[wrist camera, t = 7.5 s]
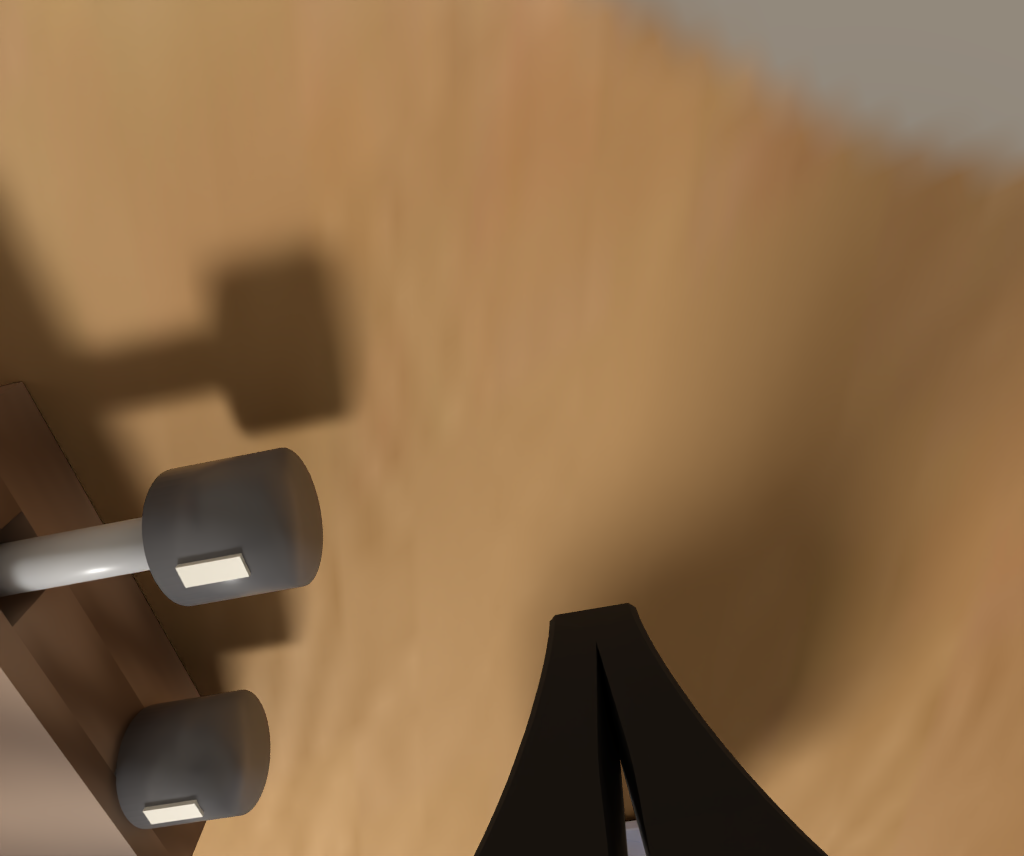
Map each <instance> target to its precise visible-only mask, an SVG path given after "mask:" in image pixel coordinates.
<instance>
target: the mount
mask: <svg viewBox="0 0 1024 856" xmlns="http://www.w3.org/2000/svg"><path fill="white" fill-rule="evenodd" d="M98 525H103V523H102V522H101V520H100V518H99V516H98V515H97V513H96V511H95V509H94V507H93V506H92V504H91V502H90V500H89V499H88V497H87V495H86V493H85V492H84V490H83V488H82V486H81V484H80V483H79V481H78V479H77V477H76V476H75V474H74V472H73V470H72V469H71V467H70V465H69V463H68V462H67V460H66V458H65V456H64V454H63V453H62V451H61V449H60V447H59V446H58V444H57V442H56V440H55V439H54V437H53V435H52V433H51V431H50V430H49V428H48V426H47V424H46V423H45V421H44V419H43V417H42V416H41V414H40V412H39V410H38V408H37V407H36V405H35V403H34V401H33V400H32V398H31V396H30V394H29V393H28V391H27V389H26V387H25V386H24V384H23V382H18V383H14V384H9V385H4V386H0V544H2V543H7V542H13V541H18V540H23V539H29V538H34V537H39V536H45V535H50V534H55V533H61V532H66V531H71V530H77V529H82V528H87V527H93V526H98ZM196 697H200V695H199V693H198V691H197V689H196V688H195V686H194V684H193V682H192V681H191V679H190V677H189V675H188V674H187V672H186V670H185V668H184V667H183V665H182V663H181V661H180V659H179V658H178V656H177V654H176V652H175V651H174V649H173V647H172V645H171V644H170V642H169V640H168V638H167V636H166V635H165V633H164V631H163V629H162V628H161V626H160V624H159V622H158V621H157V619H156V617H155V615H154V613H153V612H152V610H151V608H150V606H149V605H148V603H147V601H146V599H145V598H144V596H143V594H142V592H141V591H140V589H139V587H138V585H137V583H136V582H135V580H134V578H133V576H132V575H131V573H130V574H125V575H119V576H114V577H108V578H103V579H97V580H92V581H86V582H81V583H75V584H70V585H64V586H59V587H53V588H47V589H42V590H36V591H31V592H25V593H20V594H14V595H9V596H3V597H0V856H192V855H193V852H194V850H195V847H196V845H197V842H198V840H199V837H200V835H201V833H202V830H203V828H204V825H205V823H206V821H199V822H193V823H186V824H179V825H172V826H166V827H159V828H152V829H141V828H138V827H136V826H134V825H133V824H131V823H130V822H129V820H128V819H127V818H126V816H125V815H124V813H123V811H122V809H121V806H120V803H119V800H118V795H117V788H116V776H115V775H114V772H115V770H116V765H117V758H118V753H119V749H120V745H121V742H122V739H123V737H124V734H125V732H126V730H127V728H128V726H129V725H130V723H131V721H132V720H133V719H134V717H135V716H136V715H137V714H138V713H139V712H140V711H141V710H143V709H144V708H146V707H147V706H150V705H153V704H159V703H165V702H171V701H177V700H183V699H189V698H196Z"/></svg>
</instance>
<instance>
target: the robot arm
mask: <svg viewBox="0 0 1024 856" xmlns="http://www.w3.org/2000/svg"><path fill="white" fill-rule="evenodd" d="M620 760H621V764H622V768H623V771H624V775H625V779H626V783H627V786H628V790H629V794H630V798H631V801H632V805H633V809H634V813H635V816H636V820H634V821H627V822H625V813H624V801H623V789H622V777H621V765H620ZM474 856H828V855H827V854H826V853H825V852H824V851H823V850H822V849H821V848H820V847H818V846H817V845H816V844H815V843H814V842H813V841H812V840H811V839H810V838H809V837H808V836H807V835H806V834H805V833H804V832H803V831H802V830H801V829H800V828H799V827H798V826H797V825H796V824H795V823H794V822H793V821H792V820H791V819H790V818H789V817H788V816H787V815H786V814H785V813H784V812H783V811H782V810H781V809H780V808H779V807H778V806H777V805H776V804H775V802H774V801H773V800H772V799H771V798H770V797H769V796H768V795H767V794H766V793H765V792H764V791H763V789H762V788H761V787H760V786H759V785H758V784H757V783H756V782H755V781H754V780H753V779H752V777H751V776H750V775H749V774H748V773H747V772H746V771H745V769H744V768H743V767H742V766H741V765H740V764H739V763H738V761H737V760H736V759H735V758H734V757H733V755H732V754H731V753H730V752H729V751H728V749H727V748H726V747H725V746H724V744H723V743H722V742H721V741H720V739H719V738H718V737H717V736H716V734H715V733H714V732H713V731H712V729H711V728H710V727H709V726H708V724H707V723H706V722H705V721H704V719H703V718H702V717H701V715H700V714H699V713H698V711H697V710H696V709H695V707H694V706H693V704H692V703H691V702H690V700H689V699H688V697H687V696H686V694H685V693H684V692H683V690H682V689H681V687H680V686H679V684H678V683H677V682H676V680H675V679H674V677H673V676H672V674H671V673H670V671H669V670H668V668H667V667H666V665H665V663H664V662H663V660H662V659H661V657H660V655H659V654H658V652H657V650H656V649H655V647H654V645H653V643H652V642H651V640H650V638H649V636H648V634H647V632H646V630H645V628H644V627H643V624H642V622H641V620H640V618H639V615H638V613H637V610H636V608H635V607H634V606H632V605H631V604H629V603H625V604H619V605H613V606H607V607H601V608H595V609H589V610H583V611H577V612H571V613H565V614H559V615H555V616H554V617H553V619H552V620H551V621H550V627H549V637H548V644H547V650H546V655H545V660H544V665H543V669H542V673H541V678H540V682H539V686H538V689H537V693H536V696H535V700H534V703H533V707H532V710H531V714H530V717H529V721H528V724H527V727H526V730H525V733H524V736H523V739H522V742H521V745H520V747H519V750H518V753H517V756H516V759H515V761H514V764H513V767H512V770H511V773H510V775H509V778H508V780H507V783H506V785H505V788H504V790H503V793H502V795H501V798H500V800H499V802H498V805H497V807H496V810H495V812H494V814H493V816H492V818H491V821H490V823H489V825H488V827H487V830H486V832H485V834H484V836H483V838H482V840H481V842H480V844H479V846H478V848H477V850H476V852H475V855H474Z"/></svg>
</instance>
